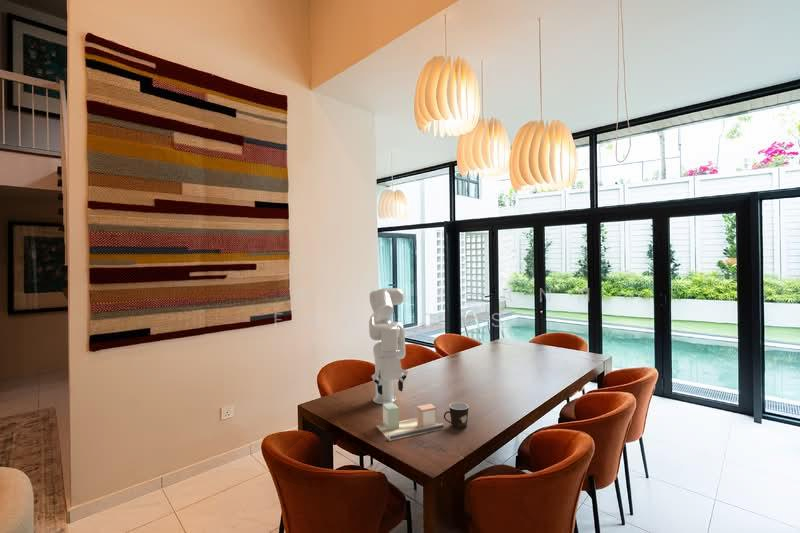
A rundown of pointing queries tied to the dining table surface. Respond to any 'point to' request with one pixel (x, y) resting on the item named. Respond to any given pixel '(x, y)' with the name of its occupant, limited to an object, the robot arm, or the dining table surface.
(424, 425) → the pink rectangular block
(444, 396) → the dining table surface
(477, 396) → the dining table surface
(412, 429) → the shelf board
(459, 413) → the coffee mug
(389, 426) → the green tin
